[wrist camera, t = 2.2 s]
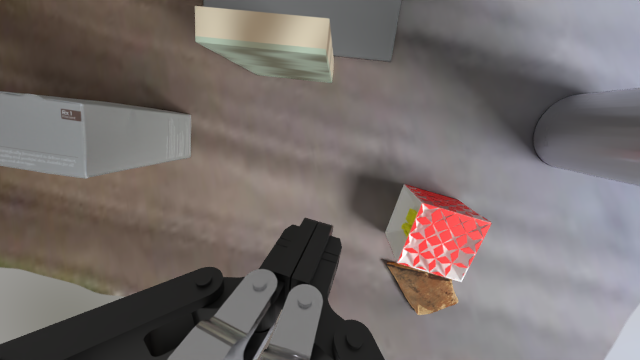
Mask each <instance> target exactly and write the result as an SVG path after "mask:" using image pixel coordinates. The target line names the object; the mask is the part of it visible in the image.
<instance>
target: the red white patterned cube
mask: <svg viewBox="0 0 640 360" xmlns="http://www.w3.org/2000/svg"><path fill="white" fill-rule="evenodd" d="M491 224H492V223H491V222H490V221H488V220H487V219H485V218H484V217H482V216H481V215H479V214H478V213H476V212H475V211H473V210H472V209H470V208H469V207H467V206H466V205H465V204H463V203H462V202H460V201H459V200H456V199H453V198H450V197H446V196H443V195H439V194H436V193H433V192H429V191H426V190H422V189H419V188H416V187H412V186H409V185H406V184H404V185H403V188H402V190H401V193H400V196H399V198H398V201H397V203H396V206H395V208H394V211H393V214H392V216H391V219H390V221H389V224H388V226H387V229H386V232H385V234H386V237H387V240H388V242H389V245H390V247H391V250H392V252H393V255H394V257H395V260H396V262H397V263H398V264H402V265H405V266H408V267H412V268H415V269H419V270H422V271H425V272H429V273H432V274H436V275H439V276H442V277H446V278H449V279H452V280H456V281H459V282H462V280H463V278H464V276H465V274H466V272H467V270H468V268H469V266H470V264H471V262H472V260H473V258H474V257H475V255H476V253H477V251H478V249H479V247H480V245H481V243H482V241H483V239H484V237H485V235H486V233H487V231H488V229H489V227H490V225H491Z"/></svg>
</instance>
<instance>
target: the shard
mask: <svg viewBox="0 0 640 360" xmlns="http://www.w3.org/2000/svg"><path fill="white" fill-rule="evenodd" d="M387 266H388V268H389V269H390V271H391V273H392V274H393V275H394V276H395V279H396V280H397V282H398V284H399V286H400V288H401V290H402V292H403V293H404V295H405V297H406V299H407V300H408V302H409V303H410V305H411V306H412V308H414V309H415V311H416V313H417V314H418V315H423V314H431V313H433V312H436V311H438V310H441V309H443V308H446V307H448V306H452V305H455V304H457V302H458V299H457V297H456V295H455V292H454V290H453V286H452V279H449V278H446V277H442V276H439V275H436V274H432V273H429V272H425V271H422V270H419V269H415V268H412V267H408V266H405V265H402V264H398V263H394V262H389V263H388V262H387Z"/></svg>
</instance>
